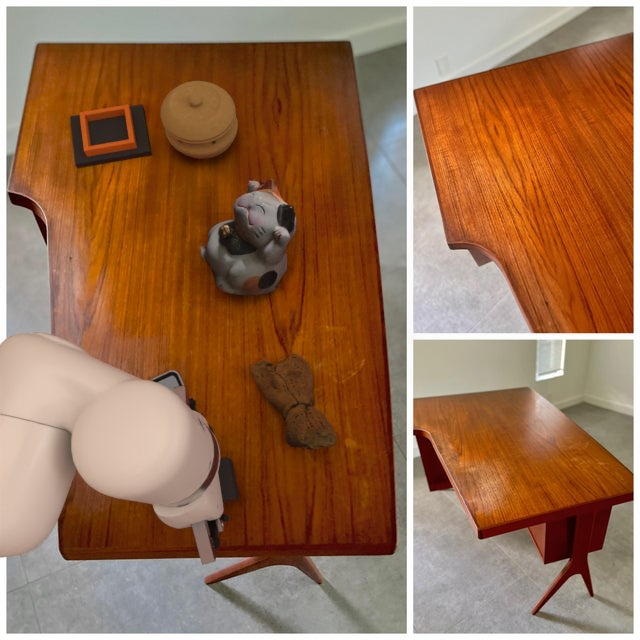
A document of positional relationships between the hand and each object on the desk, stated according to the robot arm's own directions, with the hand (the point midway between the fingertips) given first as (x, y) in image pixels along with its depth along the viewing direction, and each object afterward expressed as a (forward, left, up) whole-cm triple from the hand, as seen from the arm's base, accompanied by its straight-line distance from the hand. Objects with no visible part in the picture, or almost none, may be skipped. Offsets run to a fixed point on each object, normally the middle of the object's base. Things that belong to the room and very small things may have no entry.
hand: (207, 477), depth 60 cm
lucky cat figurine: (+11, +32, -11) cm, 35 cm away
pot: (+8, +55, -11) cm, 57 cm away
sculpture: (+11, +8, -11) cm, 17 cm away
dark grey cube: (0, 0, -10) cm, 10 cm away
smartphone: (-5, +9, -11) cm, 14 cm away
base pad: (-7, +59, -11) cm, 61 cm away
